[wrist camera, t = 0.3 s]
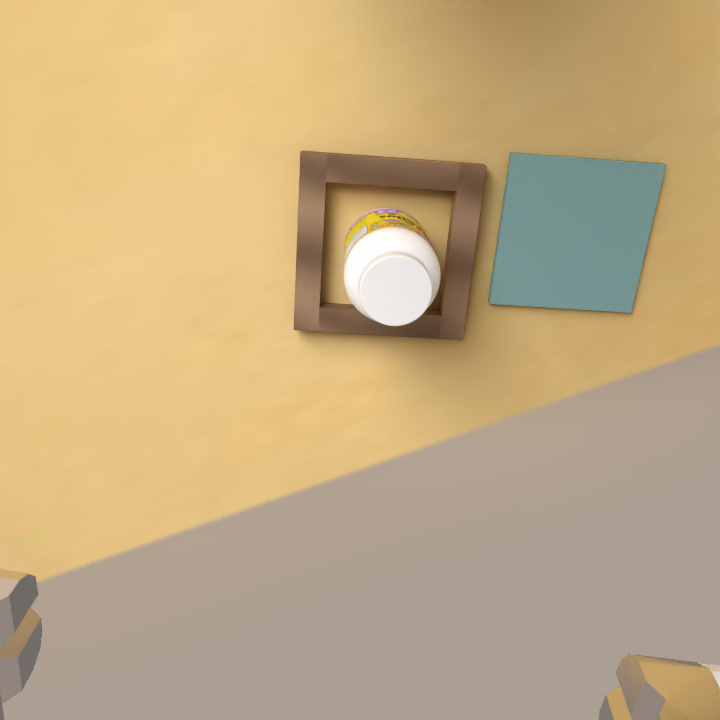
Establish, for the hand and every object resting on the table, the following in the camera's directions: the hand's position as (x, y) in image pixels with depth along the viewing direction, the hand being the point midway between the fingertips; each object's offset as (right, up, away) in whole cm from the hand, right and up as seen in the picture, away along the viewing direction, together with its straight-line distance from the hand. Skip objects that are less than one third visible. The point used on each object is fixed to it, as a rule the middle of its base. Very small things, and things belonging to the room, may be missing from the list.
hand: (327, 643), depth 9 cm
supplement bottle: (+2, +13, +45) cm, 47 cm away
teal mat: (+18, +14, +45) cm, 50 cm away
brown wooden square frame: (+2, +13, +45) cm, 47 cm away
